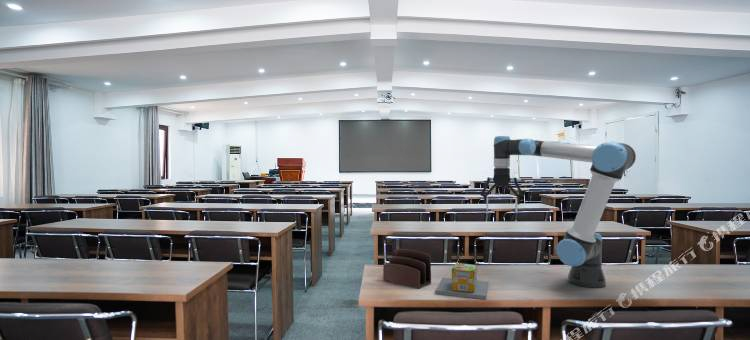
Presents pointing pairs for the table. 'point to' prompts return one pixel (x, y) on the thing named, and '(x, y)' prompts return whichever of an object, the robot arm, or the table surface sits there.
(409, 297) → the table surface
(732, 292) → the table surface
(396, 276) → the letter holder
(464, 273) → the chalk box
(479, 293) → the mat
